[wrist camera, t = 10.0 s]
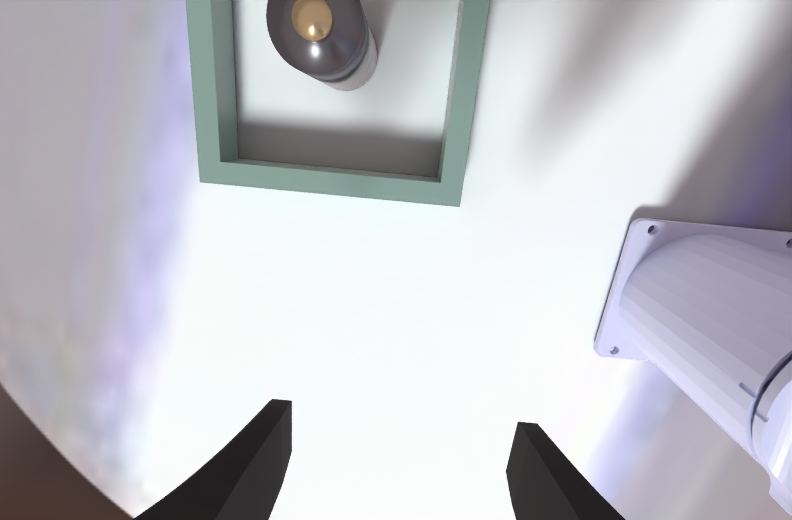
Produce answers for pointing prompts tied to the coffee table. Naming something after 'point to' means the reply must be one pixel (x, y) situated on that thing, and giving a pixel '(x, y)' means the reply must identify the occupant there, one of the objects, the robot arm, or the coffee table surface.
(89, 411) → the coffee table surface
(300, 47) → the cell
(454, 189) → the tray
